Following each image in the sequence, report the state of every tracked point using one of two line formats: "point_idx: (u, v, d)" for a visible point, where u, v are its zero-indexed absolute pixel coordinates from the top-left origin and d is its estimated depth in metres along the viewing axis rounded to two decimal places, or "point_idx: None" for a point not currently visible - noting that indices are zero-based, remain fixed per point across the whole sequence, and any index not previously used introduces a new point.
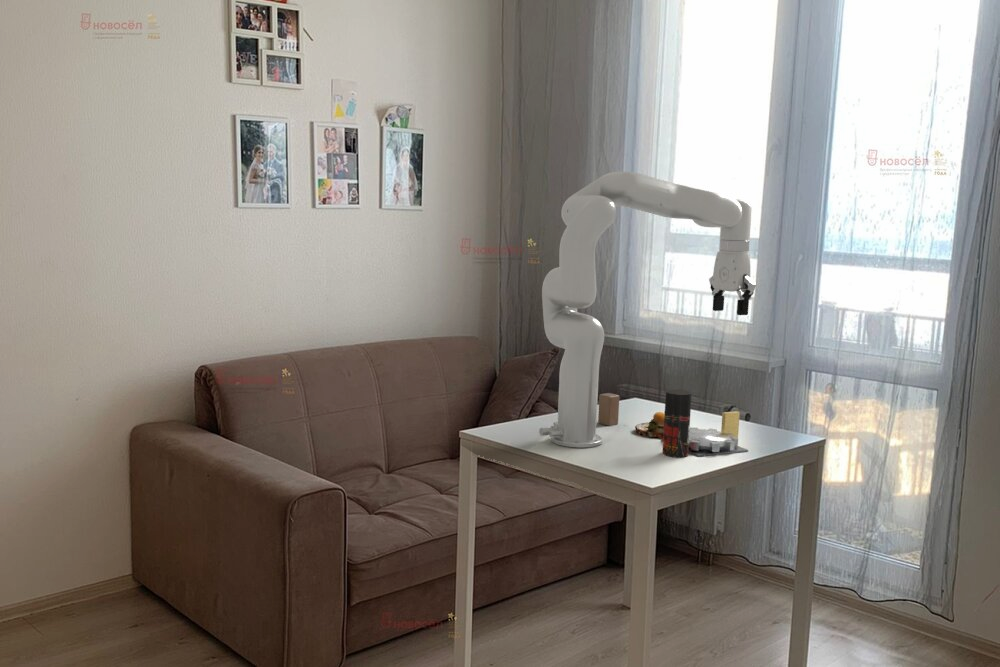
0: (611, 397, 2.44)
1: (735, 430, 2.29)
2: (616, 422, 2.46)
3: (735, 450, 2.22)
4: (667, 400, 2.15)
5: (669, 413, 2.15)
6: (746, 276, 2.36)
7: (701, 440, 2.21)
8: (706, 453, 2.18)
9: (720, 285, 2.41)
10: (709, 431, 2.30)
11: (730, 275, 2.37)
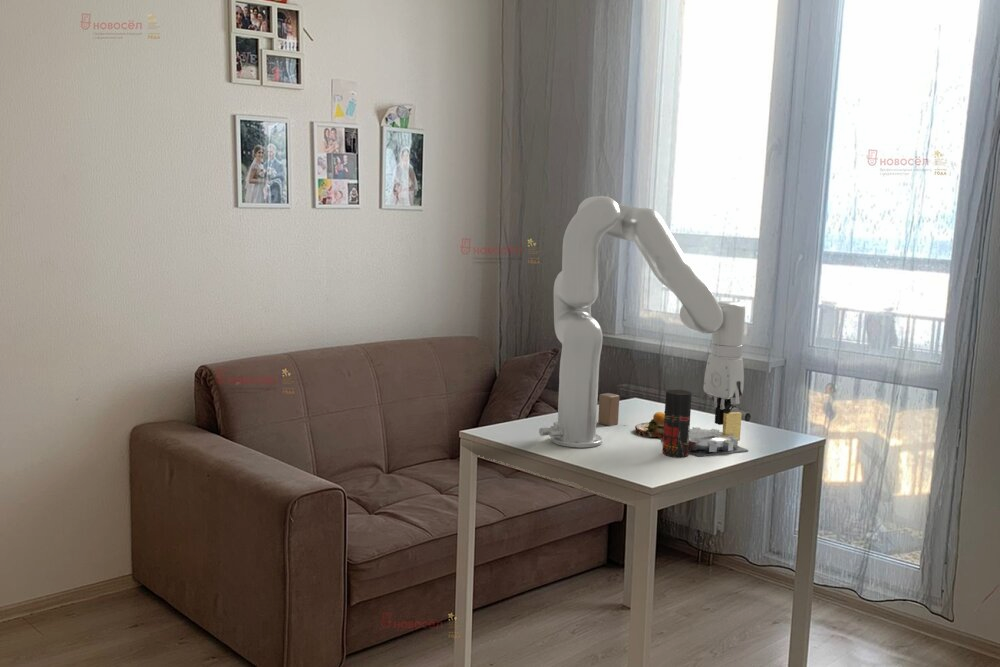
0: (611, 397, 2.44)
1: (736, 431, 2.28)
2: (616, 422, 2.46)
3: (735, 450, 2.22)
4: (667, 400, 2.15)
5: (669, 413, 2.14)
6: (736, 388, 2.25)
7: (699, 440, 2.21)
8: (706, 453, 2.18)
9: (712, 390, 2.29)
10: (711, 431, 2.30)
11: (722, 382, 2.26)
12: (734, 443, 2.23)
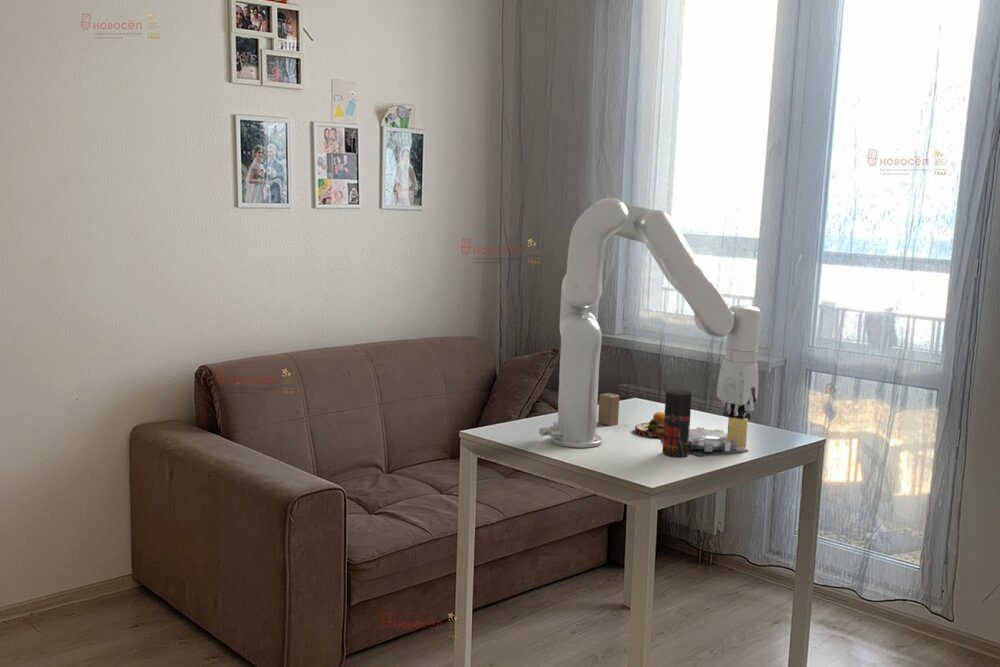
0: (611, 397, 2.44)
1: (741, 437, 2.22)
2: (616, 422, 2.46)
3: (735, 450, 2.22)
4: (667, 400, 2.15)
5: (669, 413, 2.14)
6: (751, 394, 2.20)
7: None
8: (706, 453, 2.18)
9: (725, 396, 2.24)
10: (721, 434, 2.27)
11: (736, 388, 2.21)
12: (722, 447, 2.19)
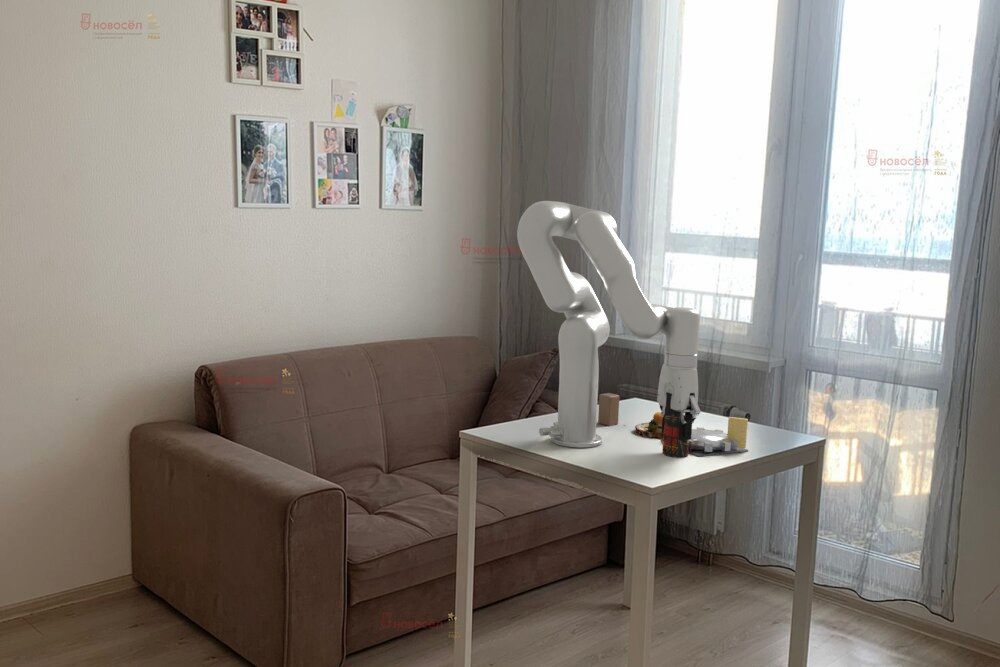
0: (611, 397, 2.44)
1: (741, 437, 2.22)
2: (616, 422, 2.46)
3: (735, 450, 2.22)
4: (667, 400, 2.15)
5: (669, 413, 2.15)
6: (692, 397, 2.11)
7: None
8: (706, 453, 2.18)
9: (665, 402, 2.16)
10: (721, 434, 2.27)
11: (675, 393, 2.12)
12: (722, 447, 2.19)
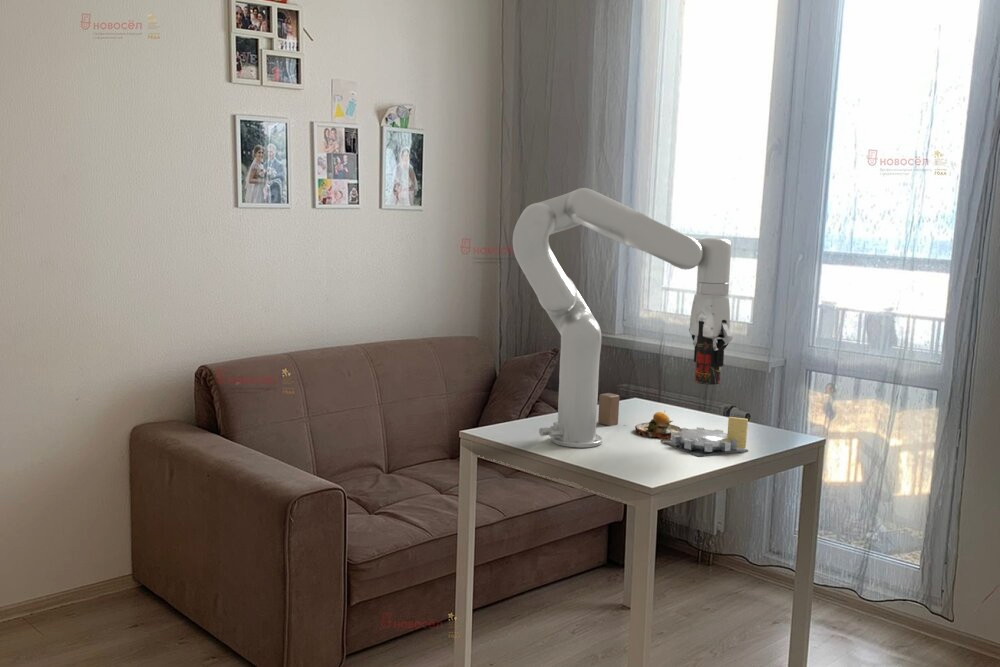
0: (611, 397, 2.44)
1: (741, 437, 2.22)
2: (616, 422, 2.46)
3: (735, 450, 2.22)
4: (699, 328, 2.21)
5: (701, 341, 2.20)
6: (724, 324, 2.17)
7: (685, 436, 2.24)
8: (706, 453, 2.18)
9: (697, 331, 2.22)
10: (721, 434, 2.27)
11: (708, 321, 2.18)
12: (722, 447, 2.19)
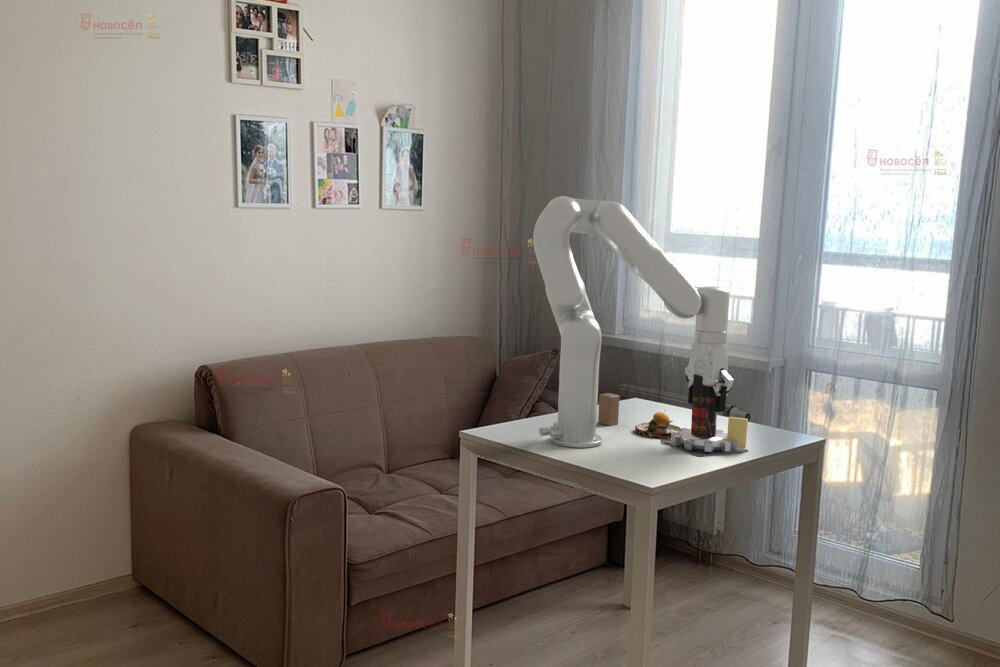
0: (611, 397, 2.44)
1: (741, 437, 2.22)
2: (616, 422, 2.46)
3: (735, 450, 2.22)
4: (695, 382, 2.23)
5: (697, 395, 2.23)
6: (723, 370, 2.19)
7: (685, 436, 2.24)
8: (706, 453, 2.18)
9: None
10: (721, 434, 2.27)
11: (706, 369, 2.20)
12: (722, 447, 2.19)
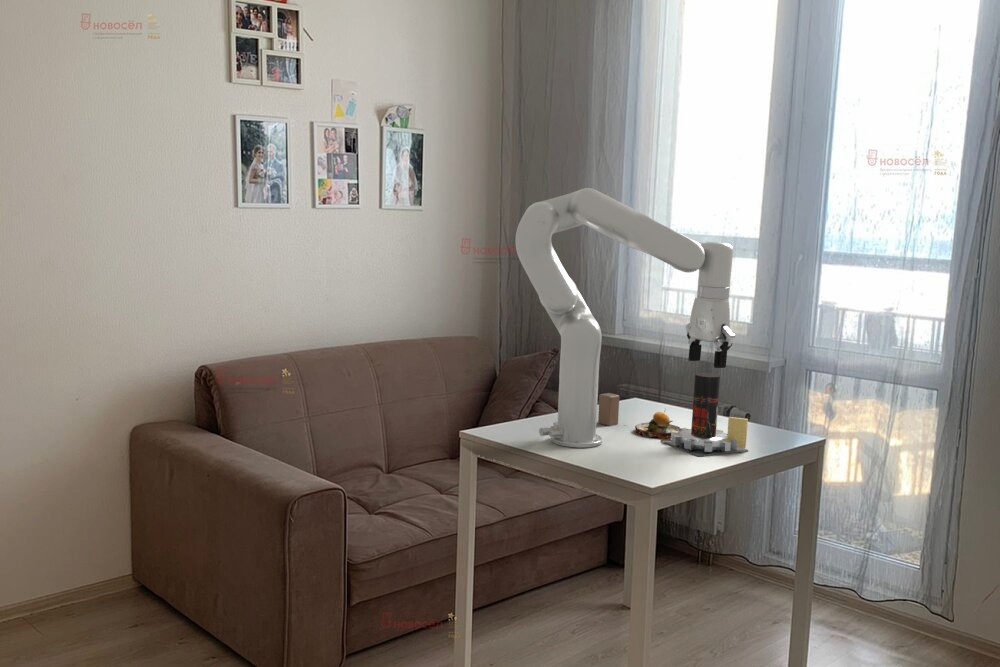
0: (611, 397, 2.44)
1: (741, 437, 2.22)
2: (616, 422, 2.46)
3: (735, 450, 2.22)
4: (696, 382, 2.23)
5: (698, 395, 2.23)
6: (725, 326, 2.17)
7: (685, 436, 2.24)
8: (706, 453, 2.18)
9: (697, 334, 2.22)
10: (721, 434, 2.27)
11: (707, 324, 2.19)
12: (722, 447, 2.19)
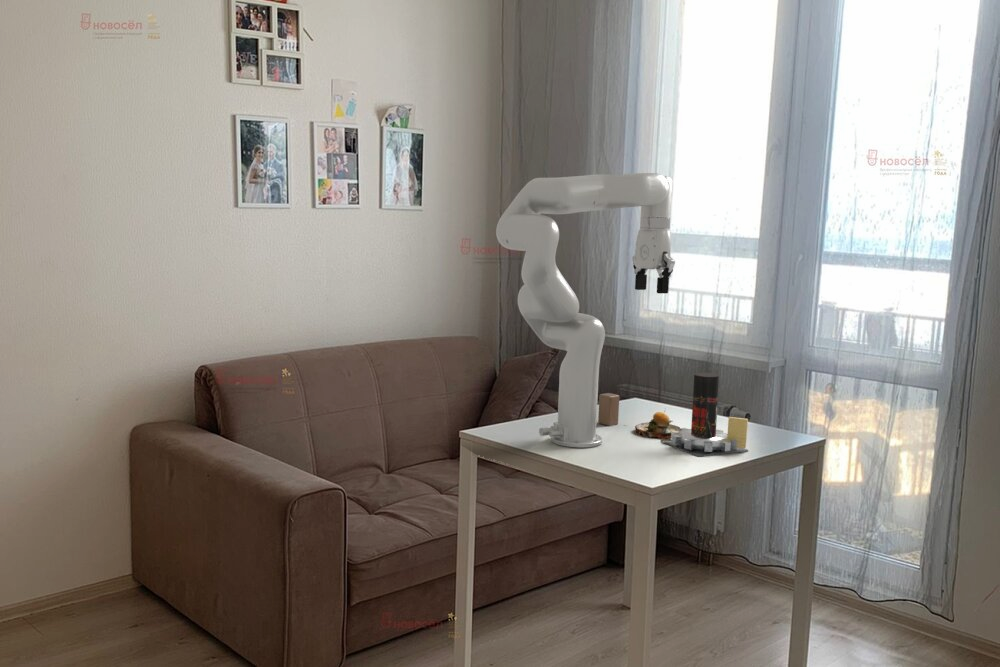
0: (611, 397, 2.44)
1: (741, 437, 2.22)
2: (616, 422, 2.46)
3: (735, 450, 2.22)
4: (695, 382, 2.23)
5: (697, 395, 2.23)
6: (666, 253, 2.31)
7: (685, 436, 2.24)
8: (706, 453, 2.18)
9: (641, 263, 2.36)
10: (721, 434, 2.27)
11: (650, 253, 2.33)
12: (722, 447, 2.19)
